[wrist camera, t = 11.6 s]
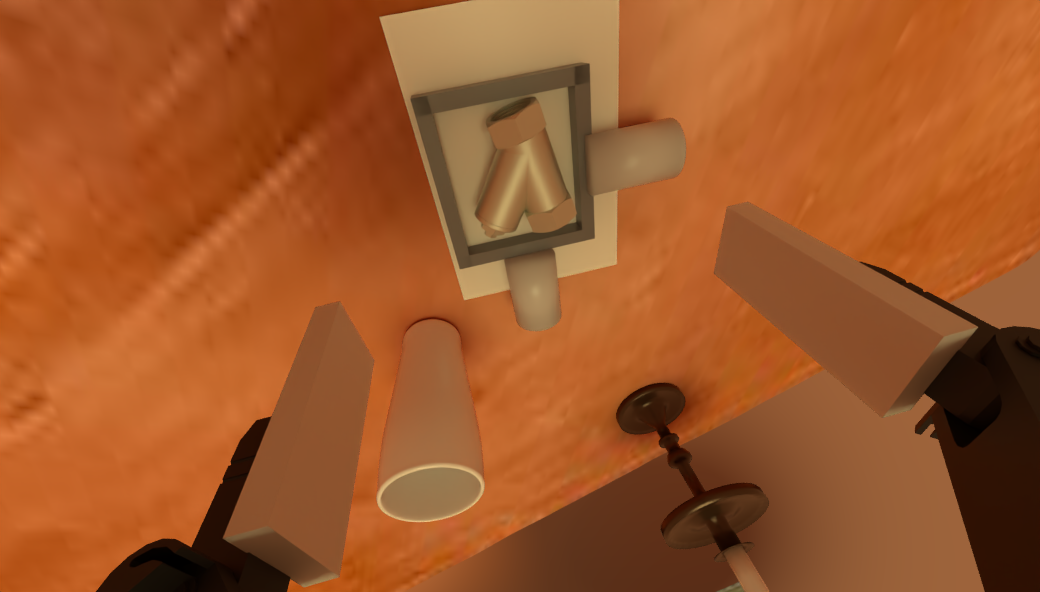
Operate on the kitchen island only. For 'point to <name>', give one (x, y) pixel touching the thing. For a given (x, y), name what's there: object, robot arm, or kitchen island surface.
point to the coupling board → (570, 126)
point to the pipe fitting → (523, 174)
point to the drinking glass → (430, 430)
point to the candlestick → (697, 488)
